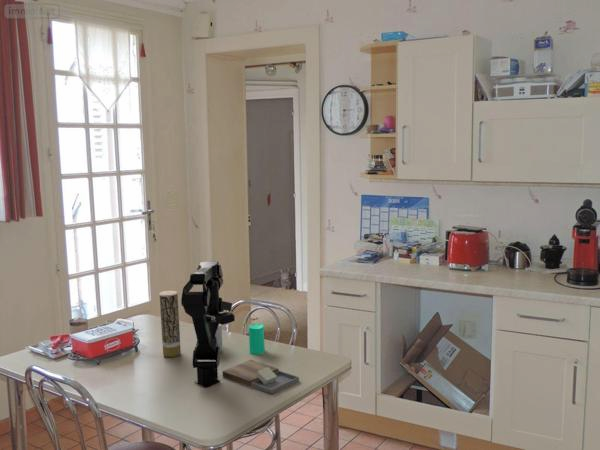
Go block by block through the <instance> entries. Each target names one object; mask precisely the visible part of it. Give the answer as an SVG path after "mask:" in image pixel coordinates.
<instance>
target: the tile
mask: <svg viewBox="0 0 600 450" xmlns="http://www.w3.org/2000/svg"><path fill="white" fill-rule="evenodd" d="M256 376H257V377H258V378H259V379H260V380H261V381H262V382H263V383H264V384H265V385H266V384H268V383H271V382H273V381H275V380H276V378H277V376H276V375H275V374H274V373H273V372H272V371H271V370H270V368H269V367H267V368H264V369H262V370H259V371H257V374H256Z"/></svg>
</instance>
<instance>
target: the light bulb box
mask: <svg viewBox="0 0 600 450" xmlns="http://www.w3.org/2000/svg"><path fill="white" fill-rule="evenodd" d="M222 326H223V325H221V324H219V325H218V328H217V331H216V334H215V337H216V339H217V343H218V347H220V353H222V352H223V349H224V348H223V330H222V329H223V327H222Z"/></svg>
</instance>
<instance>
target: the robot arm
mask: <svg viewBox="0 0 600 450" xmlns="http://www.w3.org/2000/svg"><path fill="white" fill-rule="evenodd" d="M196 269H197V270H196V271H195V272H193V273H190V276H189V281H187V283H186V284H185V285H184V286H183V287H182V293H181V300H180V301H181V303H180V304H181V307H183V310H184V313H185V314H186V315H187V316H188V315H189V317H191V320H192V324H193V328H194V332H195V337H196V345H195V347H194V350H193V352H192V362H191V363H192V368H193V369H195V368H196V377H197V379H196V380H195V381H194V384H197V385H199V386H201V387H204V388H209V387H211V386H214V385H216V384H218V383H220V382H221V380H220V379H219V377H218V376H219V373H218V372H219V371H218V367H219V365H220V362H221V361H220V359H221V358H220V357H221V352H220V347H218V343H217V339H216V337H215V334H216V331H217V328H218V325H219V324H220V325H222V326H223V325H227V324H230V323H233V322H235V321H236V320H235V314H234V313H231V311H232V306H233V303H232V302H229V301H225V300H223V298H222V297H220V289H221V288H222V286H224V285H223V284H224V278H223V277H224V274H223V270H222V266H221V264H220V263H219V261H201V262H200V263H199V264H198V267H197V268H196ZM196 285H197V286H200V285H201V286H202V291H191V289H192V288H194V286H196ZM224 311H225V312H224Z"/></svg>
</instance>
